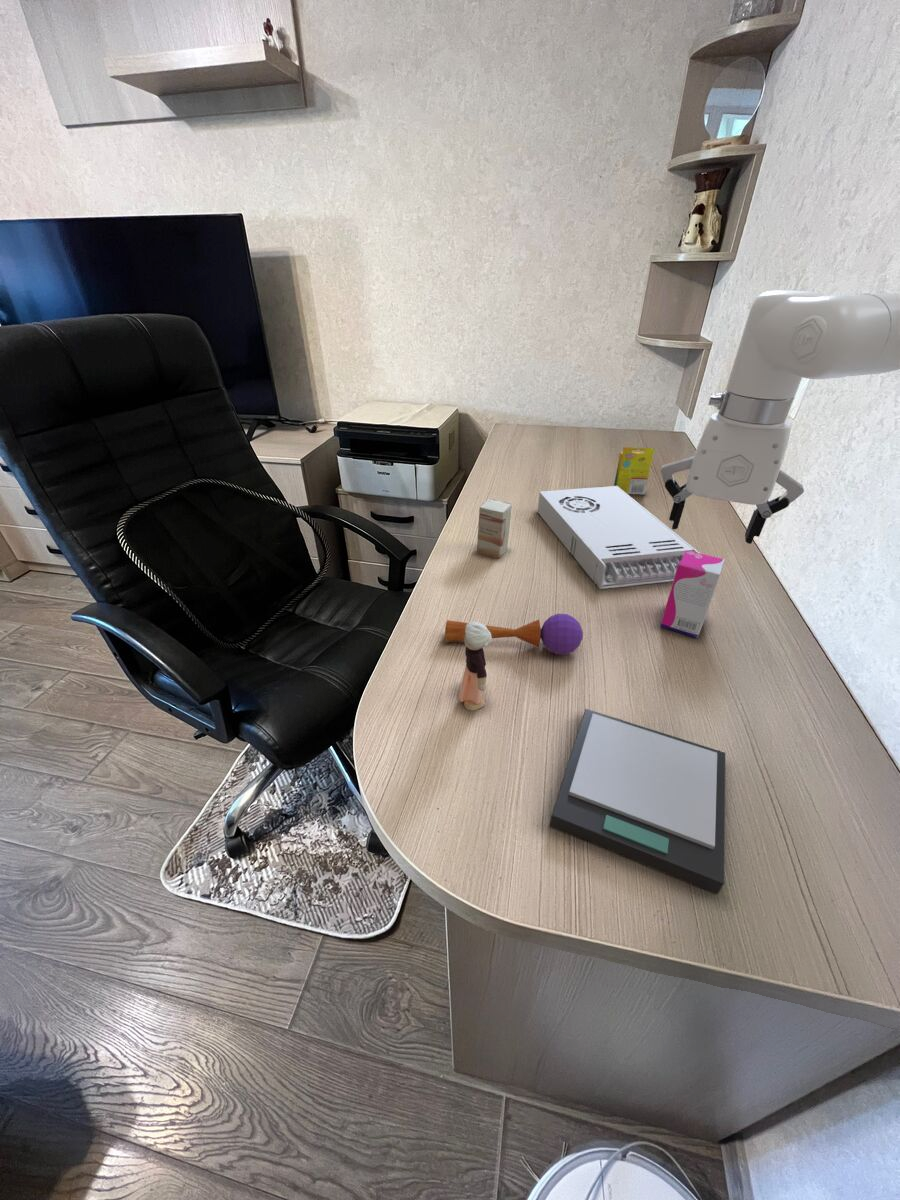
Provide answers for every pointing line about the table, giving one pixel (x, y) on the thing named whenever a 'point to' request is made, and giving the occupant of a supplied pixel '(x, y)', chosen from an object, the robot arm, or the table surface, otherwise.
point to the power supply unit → (613, 536)
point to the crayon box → (633, 470)
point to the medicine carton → (493, 528)
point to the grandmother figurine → (474, 665)
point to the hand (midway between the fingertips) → (710, 532)
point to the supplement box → (691, 593)
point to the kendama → (532, 633)
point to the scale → (646, 798)
